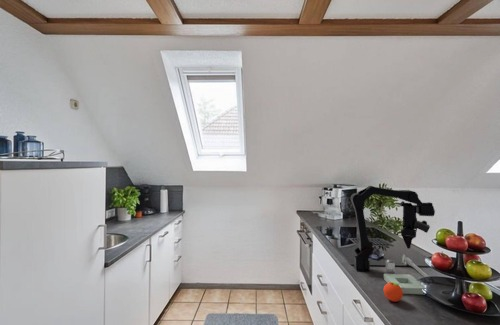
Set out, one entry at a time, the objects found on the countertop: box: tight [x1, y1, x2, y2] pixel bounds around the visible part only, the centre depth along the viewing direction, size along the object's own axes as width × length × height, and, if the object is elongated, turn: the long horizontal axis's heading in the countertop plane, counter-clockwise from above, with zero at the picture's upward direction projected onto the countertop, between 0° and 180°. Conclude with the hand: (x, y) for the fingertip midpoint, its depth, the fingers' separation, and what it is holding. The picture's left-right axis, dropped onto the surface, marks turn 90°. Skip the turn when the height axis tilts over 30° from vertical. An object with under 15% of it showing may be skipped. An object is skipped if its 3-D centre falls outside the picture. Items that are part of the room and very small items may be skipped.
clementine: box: [383, 282, 404, 303], centre depth 105 cm, size 8×7×7 cm
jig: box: [383, 273, 428, 295], centre depth 117 cm, size 12×14×2 cm
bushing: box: [385, 258, 396, 274], centre depth 129 cm, size 4×4×7 cm
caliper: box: [402, 252, 430, 278], centre depth 134 cm, size 20×1×6 cm, turn 1°
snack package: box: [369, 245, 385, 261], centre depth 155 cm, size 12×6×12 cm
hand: (409, 246), depth 132 cm, fingers open, 9 cm apart
